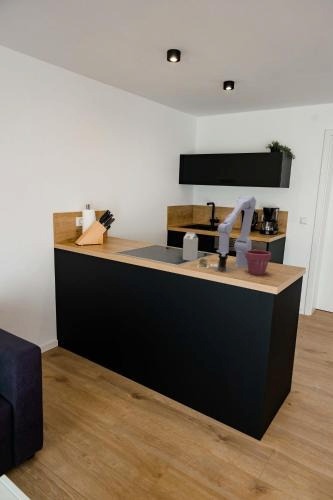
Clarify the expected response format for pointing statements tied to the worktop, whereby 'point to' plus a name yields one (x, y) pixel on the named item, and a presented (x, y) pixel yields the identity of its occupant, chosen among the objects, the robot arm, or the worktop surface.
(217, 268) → the slate coaster
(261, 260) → the plant pot
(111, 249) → the worktop surface
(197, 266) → the code tile
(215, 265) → the code tile
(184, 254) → the milk carton
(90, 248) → the worktop surface
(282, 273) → the worktop surface
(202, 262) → the oak block
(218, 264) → the walnut block
